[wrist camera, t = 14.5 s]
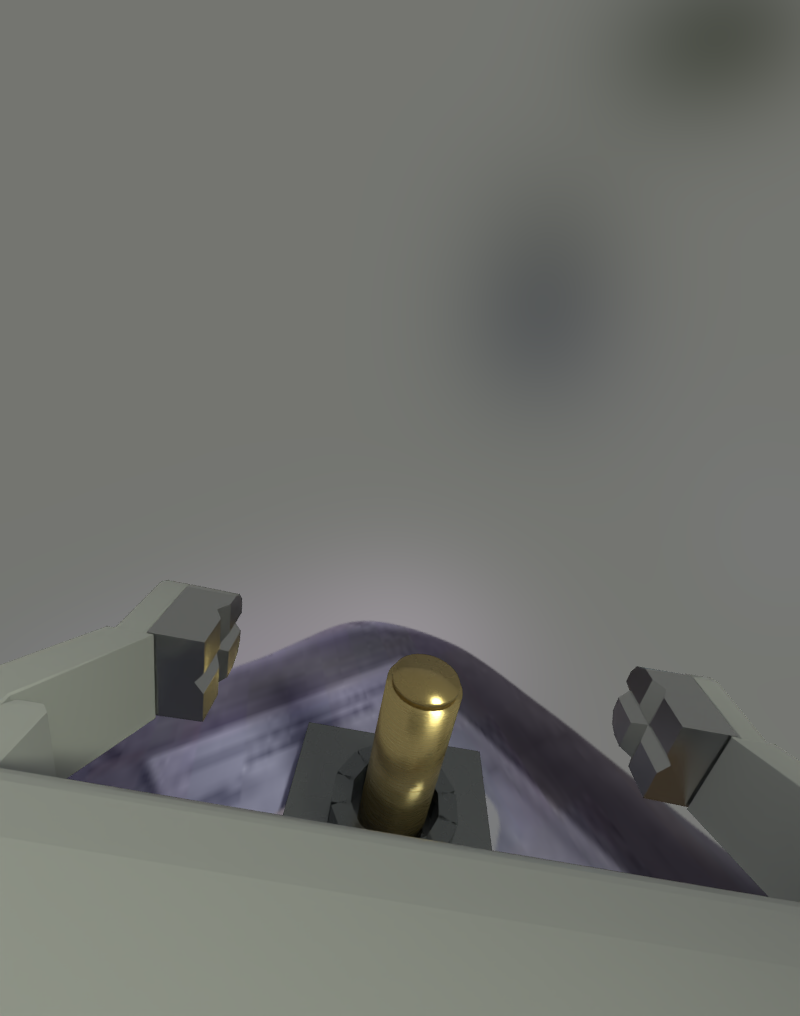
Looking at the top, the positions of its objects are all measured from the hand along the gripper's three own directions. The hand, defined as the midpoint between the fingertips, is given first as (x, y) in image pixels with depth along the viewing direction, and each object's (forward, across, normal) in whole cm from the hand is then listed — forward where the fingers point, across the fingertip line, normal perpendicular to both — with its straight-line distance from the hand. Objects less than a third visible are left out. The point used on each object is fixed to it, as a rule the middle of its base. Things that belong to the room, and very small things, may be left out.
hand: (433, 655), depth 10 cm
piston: (+16, -3, +29) cm, 34 cm away
